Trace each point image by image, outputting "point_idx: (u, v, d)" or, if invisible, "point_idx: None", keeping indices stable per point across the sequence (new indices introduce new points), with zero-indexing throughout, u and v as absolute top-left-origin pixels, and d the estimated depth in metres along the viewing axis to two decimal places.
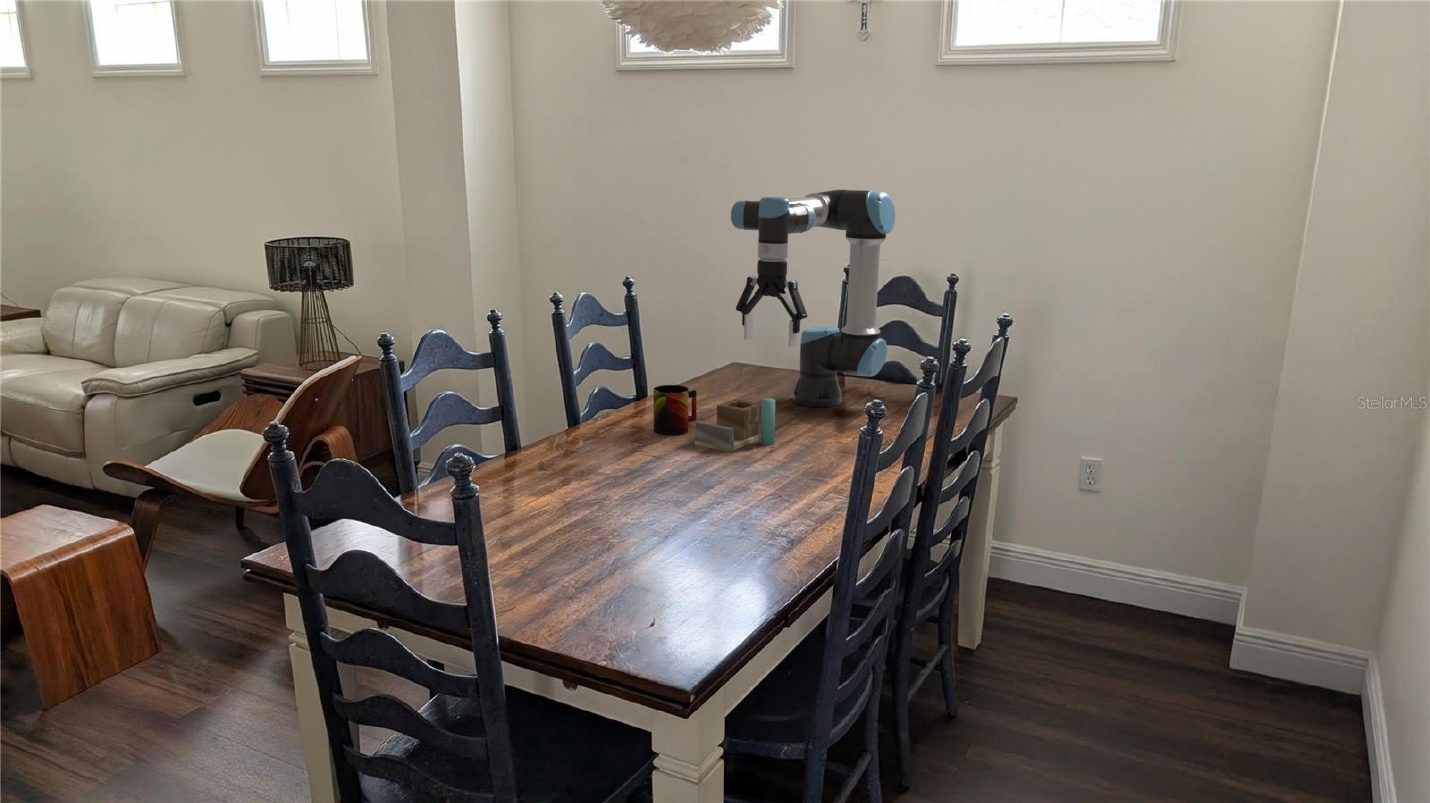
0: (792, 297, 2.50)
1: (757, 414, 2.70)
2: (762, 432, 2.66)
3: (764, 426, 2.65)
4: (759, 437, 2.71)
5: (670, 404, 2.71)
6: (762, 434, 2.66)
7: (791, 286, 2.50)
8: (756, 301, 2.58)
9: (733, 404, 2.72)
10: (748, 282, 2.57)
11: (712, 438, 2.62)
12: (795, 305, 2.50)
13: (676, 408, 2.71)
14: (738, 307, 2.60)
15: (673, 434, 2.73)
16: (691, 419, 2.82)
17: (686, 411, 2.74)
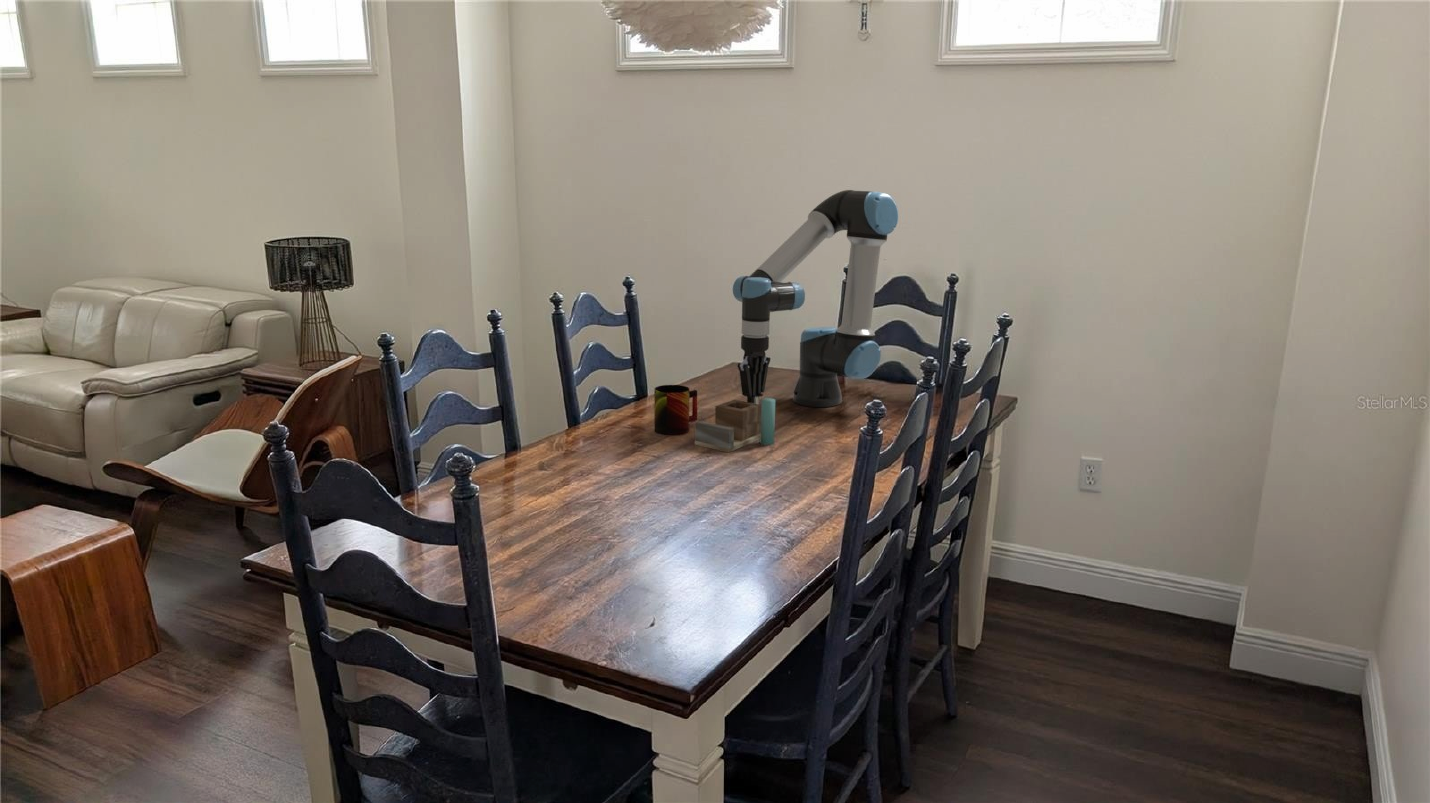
0: None
1: (756, 415, 2.69)
2: (762, 432, 2.66)
3: (764, 426, 2.65)
4: (759, 437, 2.71)
5: (671, 404, 2.71)
6: (762, 434, 2.66)
7: None
8: None
9: (731, 405, 2.72)
10: None
11: (712, 438, 2.62)
12: None
13: (677, 408, 2.71)
14: None
15: (674, 434, 2.73)
16: (692, 419, 2.83)
17: (687, 411, 2.74)
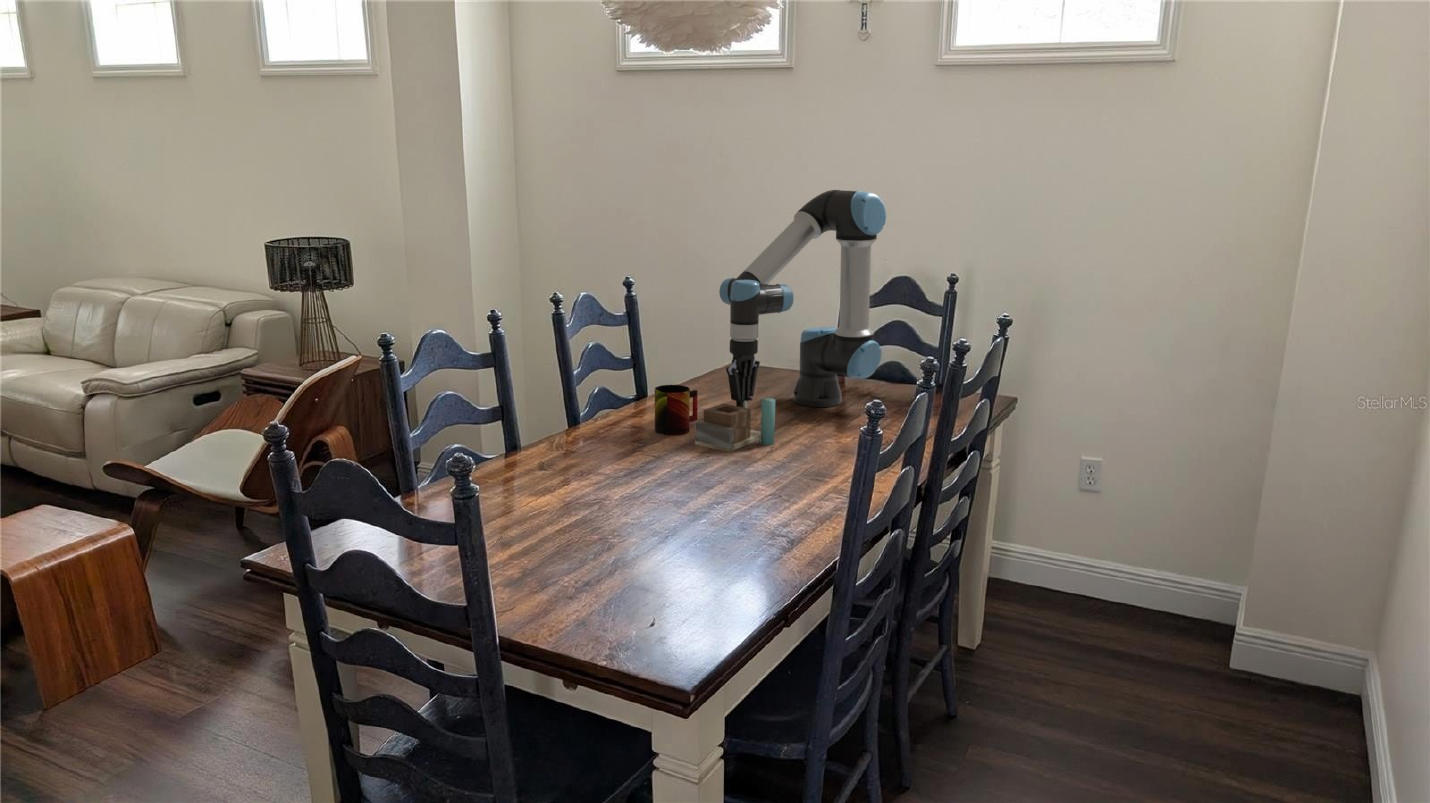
0: None
1: (744, 419, 2.65)
2: (762, 432, 2.66)
3: (764, 426, 2.65)
4: (759, 437, 2.71)
5: (671, 404, 2.71)
6: (762, 434, 2.66)
7: None
8: None
9: (720, 409, 2.68)
10: None
11: (712, 438, 2.62)
12: None
13: (677, 408, 2.72)
14: None
15: (674, 434, 2.73)
16: (692, 419, 2.83)
17: (687, 411, 2.74)
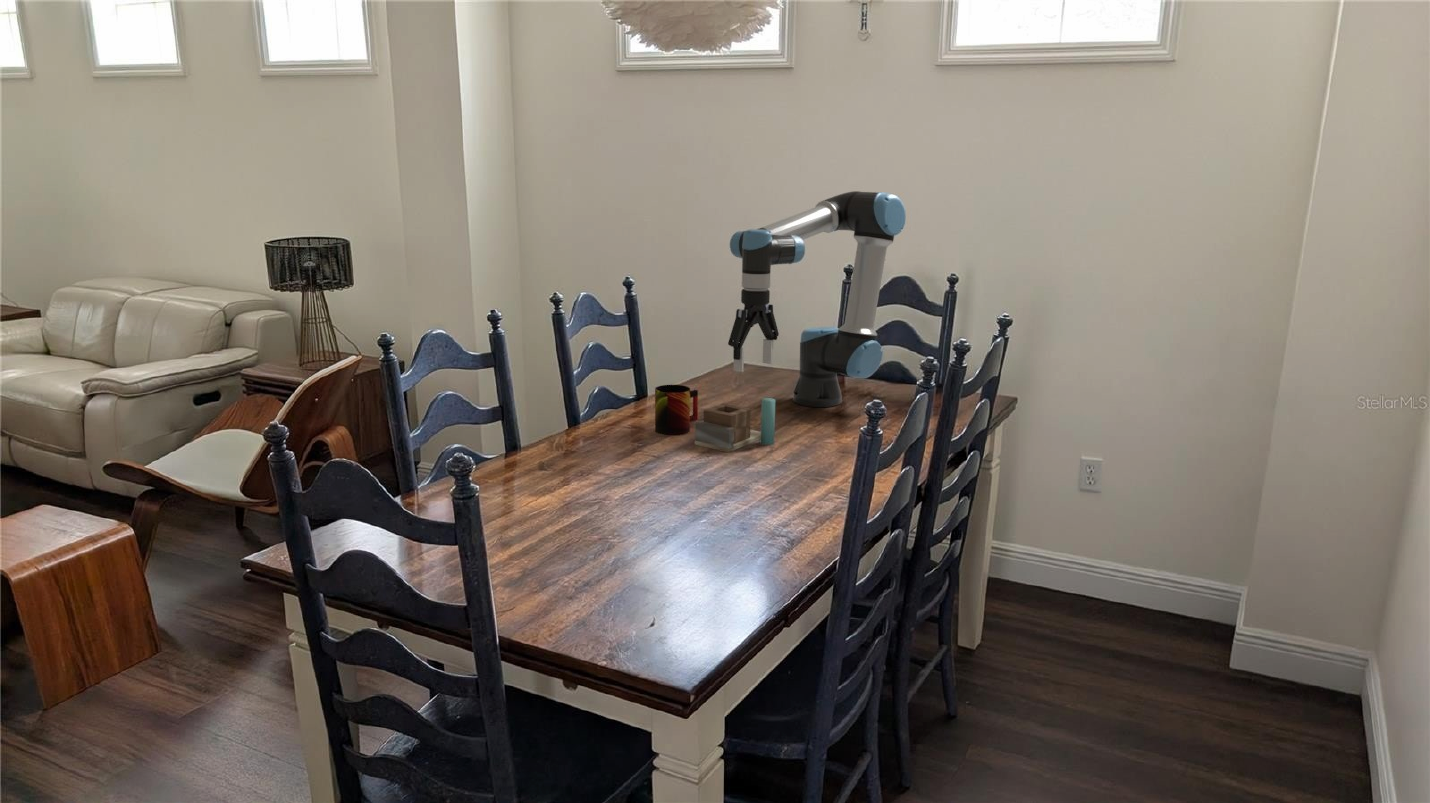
0: None
1: (744, 419, 2.65)
2: (762, 432, 2.66)
3: (764, 426, 2.65)
4: (759, 437, 2.71)
5: (672, 404, 2.71)
6: (762, 434, 2.66)
7: None
8: (763, 328, 2.71)
9: (720, 408, 2.68)
10: None
11: (712, 438, 2.62)
12: None
13: (678, 408, 2.72)
14: None
15: (675, 434, 2.73)
16: (692, 419, 2.83)
17: (688, 411, 2.74)
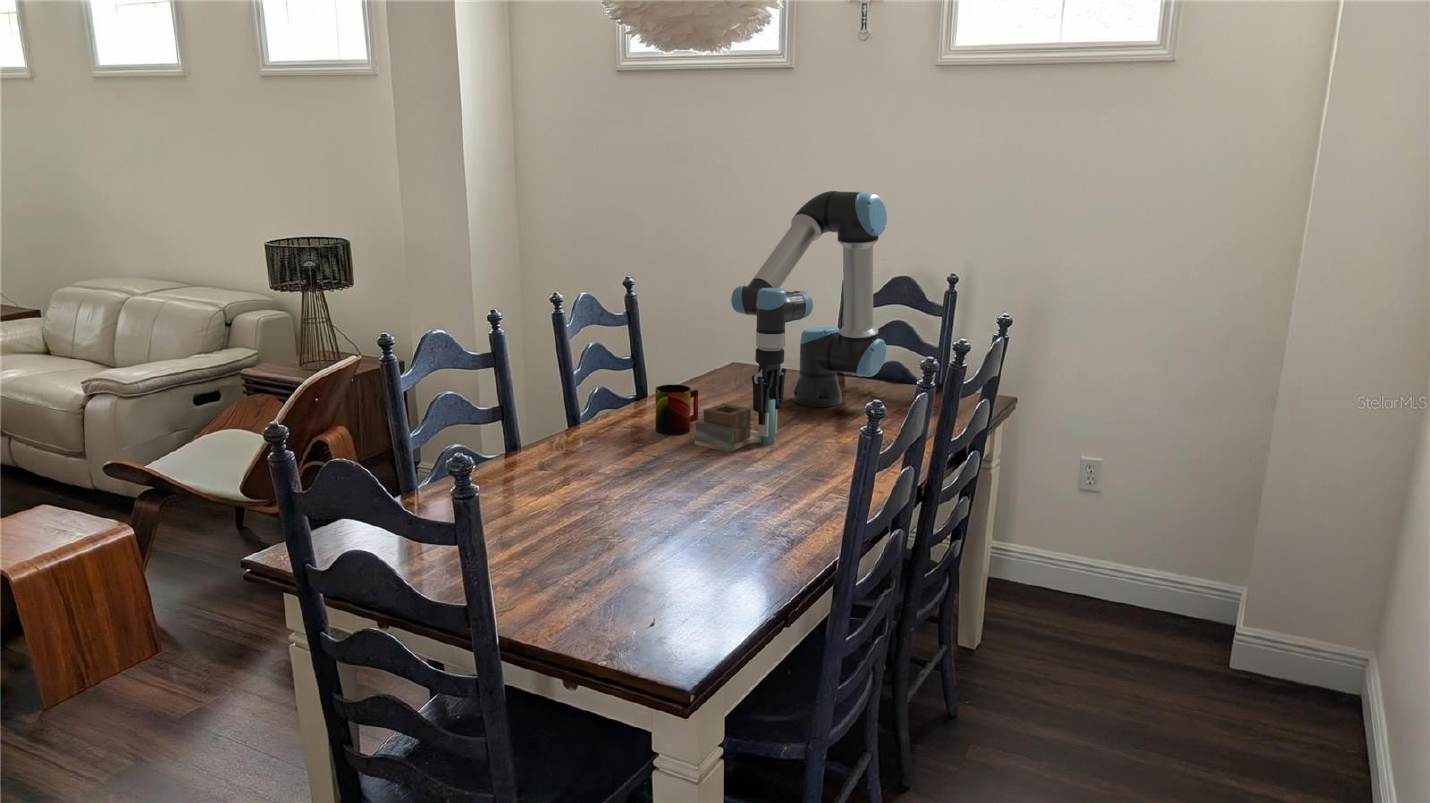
0: None
1: (744, 419, 2.65)
2: None
3: None
4: (759, 437, 2.71)
5: (672, 404, 2.71)
6: None
7: None
8: (771, 391, 2.66)
9: (720, 408, 2.68)
10: None
11: (712, 438, 2.62)
12: None
13: (678, 408, 2.72)
14: None
15: (675, 434, 2.73)
16: (693, 419, 2.83)
17: (688, 411, 2.74)
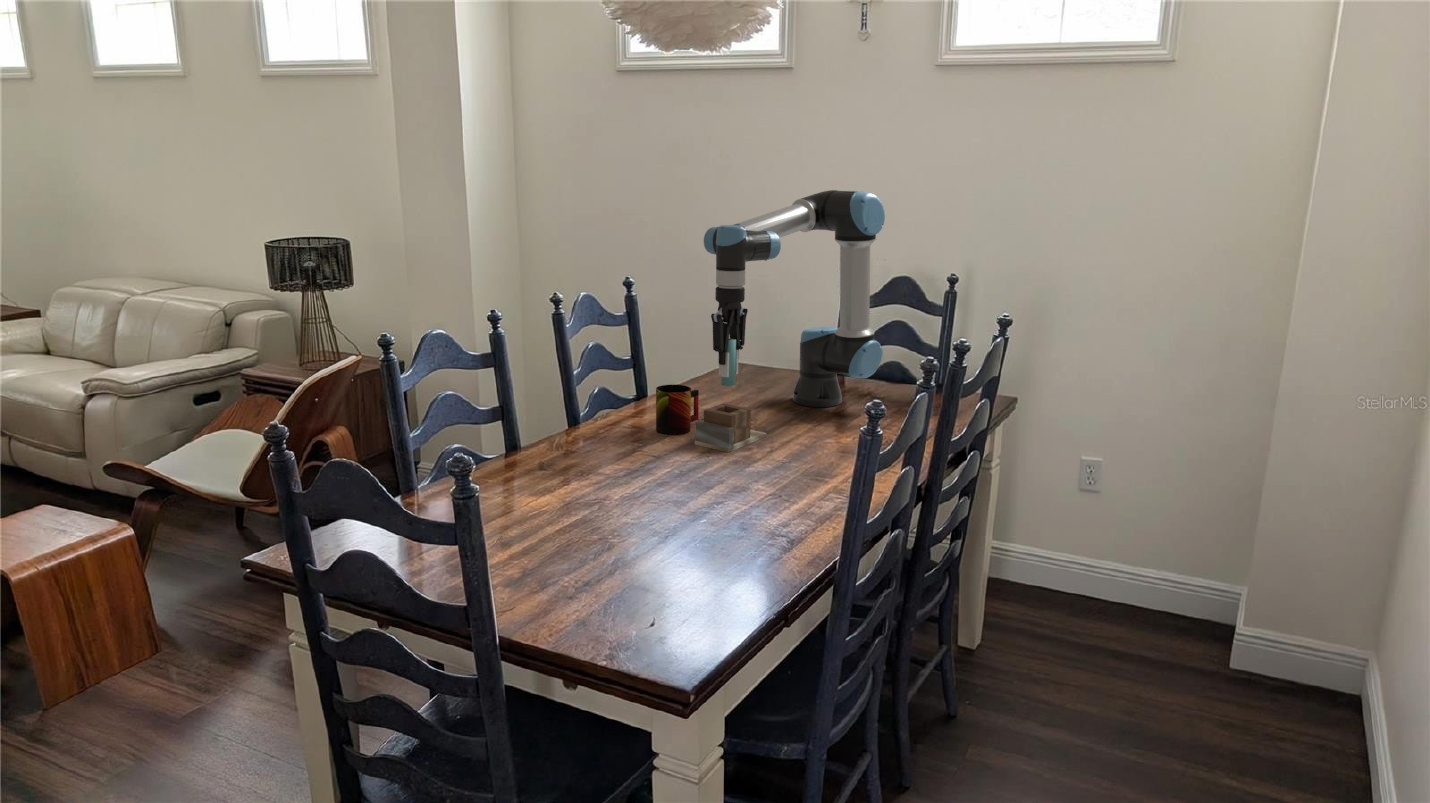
0: None
1: (744, 419, 2.65)
2: None
3: None
4: (759, 437, 2.71)
5: (672, 404, 2.71)
6: None
7: None
8: (732, 331, 2.62)
9: (720, 408, 2.68)
10: None
11: (712, 438, 2.62)
12: None
13: (679, 408, 2.72)
14: None
15: (676, 434, 2.73)
16: (693, 419, 2.83)
17: (688, 411, 2.75)
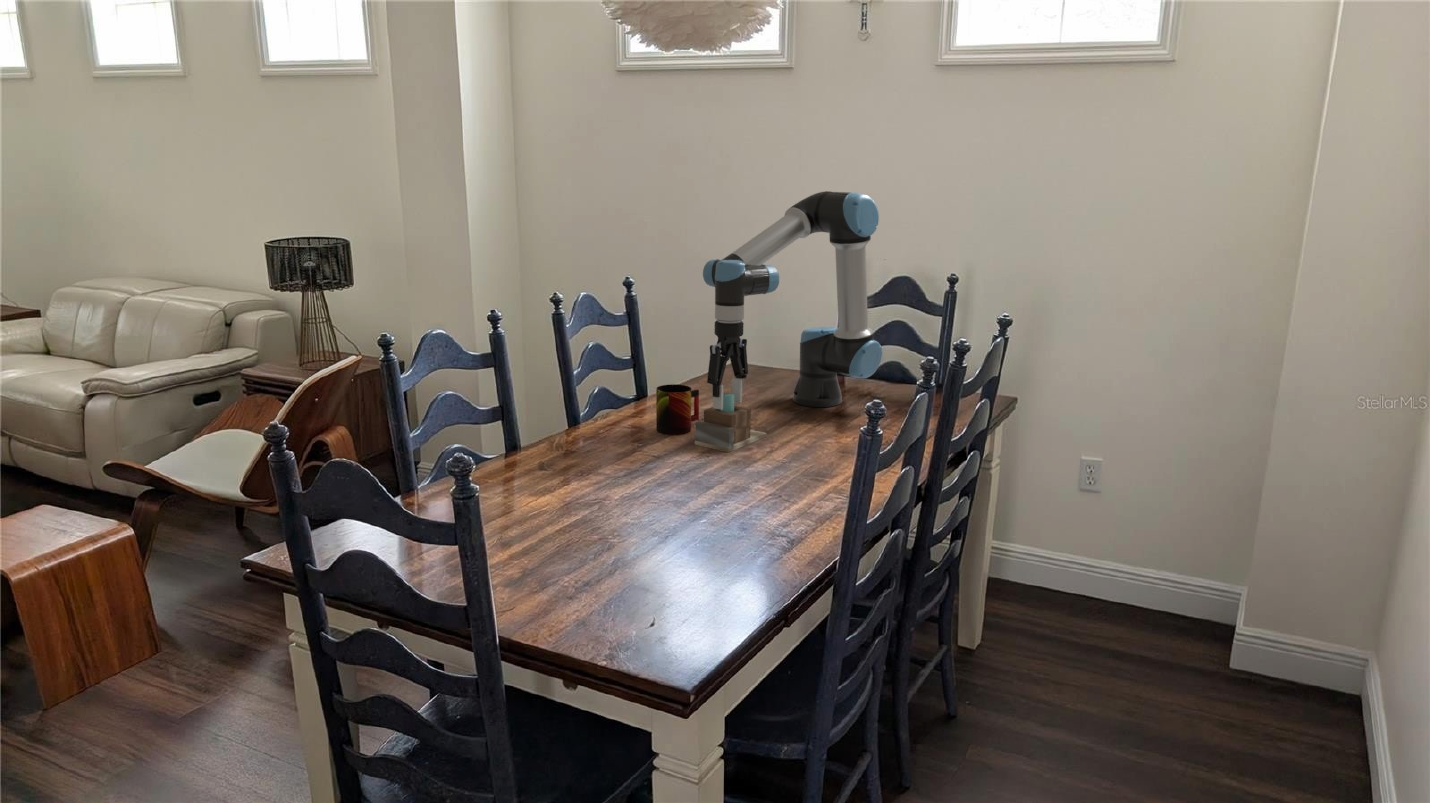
0: None
1: (745, 419, 2.65)
2: None
3: None
4: (759, 437, 2.71)
5: (673, 404, 2.71)
6: None
7: None
8: (734, 363, 2.65)
9: None
10: None
11: (712, 438, 2.62)
12: None
13: (679, 407, 2.72)
14: None
15: (676, 433, 2.73)
16: (693, 418, 2.83)
17: (689, 410, 2.75)
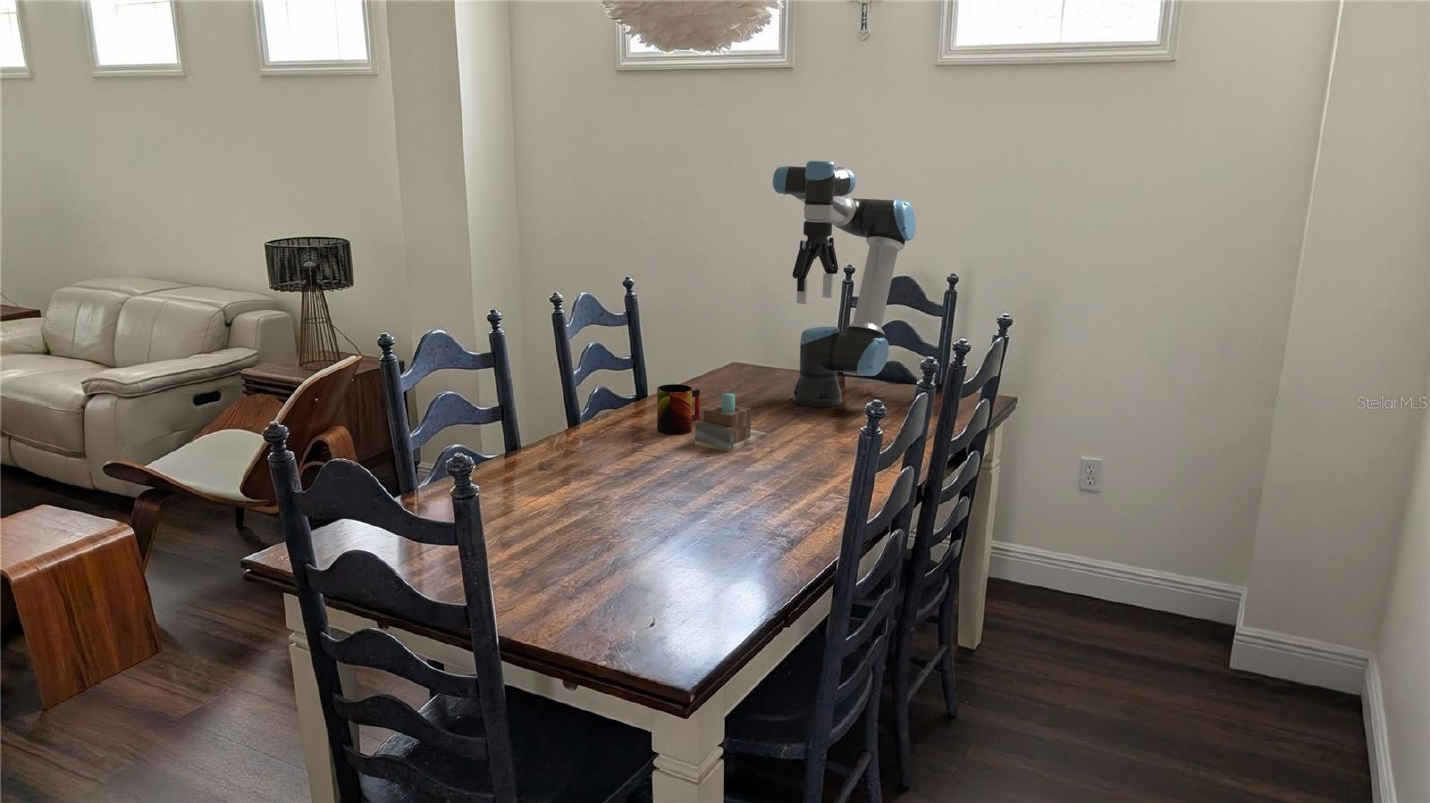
0: None
1: (745, 419, 2.65)
2: None
3: None
4: (759, 437, 2.71)
5: (674, 403, 2.71)
6: None
7: None
8: (824, 261, 2.71)
9: (720, 408, 2.68)
10: None
11: (712, 438, 2.62)
12: None
13: (680, 407, 2.72)
14: None
15: (677, 433, 2.74)
16: (694, 418, 2.83)
17: (690, 410, 2.75)
